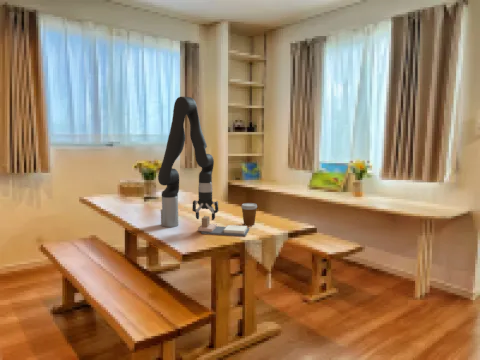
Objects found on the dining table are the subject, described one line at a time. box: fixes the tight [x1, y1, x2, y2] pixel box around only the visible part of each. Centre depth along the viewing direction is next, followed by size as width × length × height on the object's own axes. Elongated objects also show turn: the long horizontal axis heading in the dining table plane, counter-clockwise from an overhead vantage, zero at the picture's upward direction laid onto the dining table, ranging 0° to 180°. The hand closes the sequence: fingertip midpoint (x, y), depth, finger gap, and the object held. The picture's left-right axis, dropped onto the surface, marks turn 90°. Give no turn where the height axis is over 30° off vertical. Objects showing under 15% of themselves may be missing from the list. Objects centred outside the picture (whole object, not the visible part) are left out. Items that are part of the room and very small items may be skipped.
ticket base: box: [200, 224, 250, 237], centre depth 193 cm, size 24×13×2 cm, turn 79°
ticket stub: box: [197, 215, 218, 232], centre depth 195 cm, size 8×10×6 cm
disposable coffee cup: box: [241, 202, 258, 227], centre depth 208 cm, size 10×10×12 cm
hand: (205, 219), depth 195 cm, fingers open, 8 cm apart
